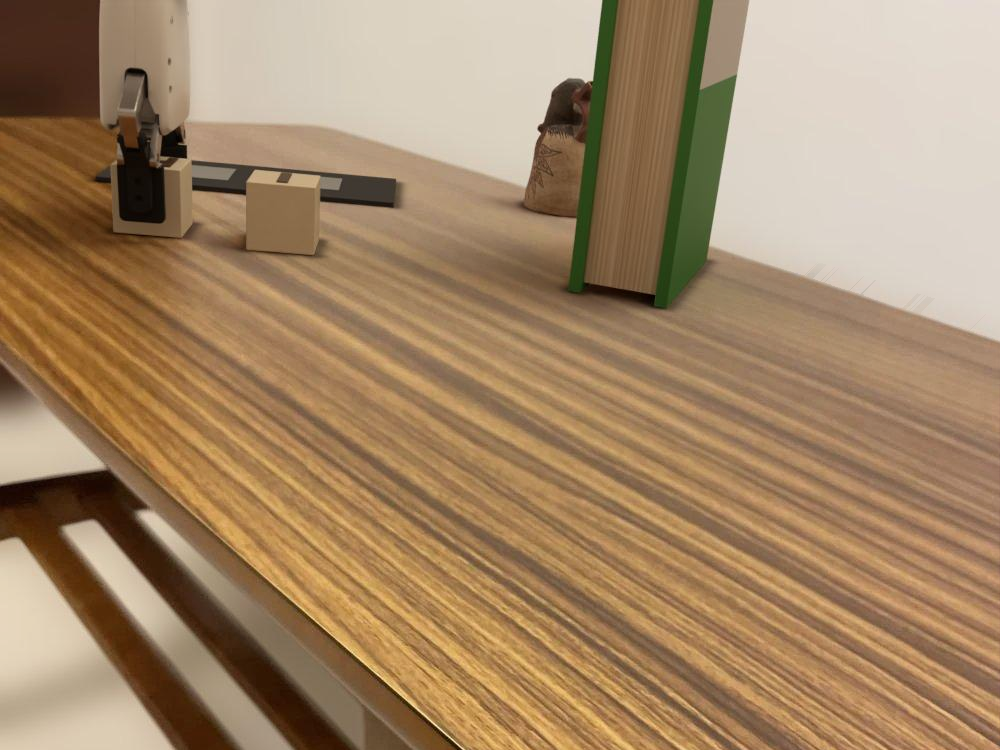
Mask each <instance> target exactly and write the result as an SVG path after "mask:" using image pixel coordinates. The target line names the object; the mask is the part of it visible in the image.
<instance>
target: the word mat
mask: <svg viewBox="0 0 1000 750" xmlns="http://www.w3.org/2000/svg"><path fill="white" fill-rule="evenodd" d="M191 160H192V190H196V191H206V192H219V193H229V194H239V195H240V194H242V195H246V182H247V180H248V179H249V177H250V176H251V174H252V173H253V172H254V170H263V171H274V172H285V173H296V174H307V175H318V176H321V181H320V202H329V203H341V204H342V203H343V204H355V205H364V206H377V207H386V208H387V207H390V208H394V205H395V197H396V188H397V178H393V177H381V176H371V175H370V176H368V175H360V174H359V175H358V174H350V173H349V174H348V173H336V172H327V171H316V170H304V169H292V168H282V167H272V166H260V165H248V164H237V163H236V164H235V163H228V162H227V163H225V162H217V161H215V162H214V161H205V160H204V161H203V160H195V159H191ZM95 181H96V182H103V183H111V166H110V165H109V166H108V167H106V168H105V169H104V170H102V171H101V172H100V173H98V174H97V175H96V176H95Z"/></svg>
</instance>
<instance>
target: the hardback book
mask: <svg viewBox="0 0 1000 750" xmlns="http://www.w3.org/2000/svg"><path fill="white" fill-rule="evenodd" d="M749 4H750V0H601V8H600V15H599V17H600V18H599V25H598V33H597V34H598V35H597V41H596V42H597V43H596V51H595V60H594V68H593V76H592V81H593V84H592V92H591V101H590V110H589V118H588V127H587V135H586V144H585V152H584V161H583V169H582V178H581V187H580V195H579V204H578V212H577V217H576V221H575V229H574V239H573V247H572V255H571V264H570V272H569V282H568V288H567V290H568V291H569V292H572V293H573V292H574V293H578V294H580V293H582V292H583V291H584V290H586V289H587V288H588V287H589V286H590V285H596V286H597V285H598V286H603V287H608V288H609V287H610V288H615V289H619V290H626V291H631V292H637V293H643V294H648V295H654V301H653V306H654V307H657V308H664V309H667V308H668V307H669V306H670V305H671V304H672V302H673V301H674V300H675V299H676V297H677V296H678V295H679V294H680V293H681V292H682V291H683V289H684V288H685V287H686V286H687V285H688V284H689V282H691V280H692V279H693V278H694V277H695V275H696V274H697V273H698V272H699V270H700V269H701V268H702V267H703V266H704V265H705V264H706V262H707V261H708V253H709V248H710V247H709V246H710V241H711V235H712V230H713V224H714V217H715V212H716V206H717V199H718V194H719V187H720V183H721V175H722V171H723V163H724V158H725V157H724V156H725V152H726V151H725V150H726V145H727V139H728V133H729V126H730V120H731V115H732V114H731V113H732V108H733V102H734V95H735V91H736V90H735V88H736V84H737V80H738V79H737V78H738V71H739V66H740V60H741V54H742V48H743V42H744V36H745V31H746V29H745V28H746V23H747V19H748V18H747V17H748V12H749V11H748V10H749Z"/></svg>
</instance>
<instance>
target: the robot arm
mask: <svg viewBox="0 0 1000 750" xmlns="http://www.w3.org/2000/svg"><path fill="white" fill-rule="evenodd" d="M188 7H189V6H188V0H99V23H98V57H99V58H98V60H99V61H98V63H99V66H98V67H99V118H100V119H99V120H100V124H101V125H102V126H103V128H104V129H105V130H107V132H108V131H110V132H113V131H115V130H117V129H118V133H117V134H116V143H117V147H116V148H117V149H116V160H117V163H118V164H117V180H118V200H119V216H120V218H121V219H122V220H123V221H130V222H143V223H155V224H161V223H163V222H164V221H165V219H166V207H165V178H164V167H160V166H159V162H160V156H162V157H173V158H184V159H188V145H187V144H186V139H187V136H186V135H187V133H186V132H187V131H186V127H185V121H186V120H187V119H188V118H189V115H190V108H191V54H190V53H191V52H190V50H191V49H190V29H189V8H188Z"/></svg>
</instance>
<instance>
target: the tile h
mask: <svg viewBox="0 0 1000 750" xmlns="http://www.w3.org/2000/svg"><path fill="white" fill-rule="evenodd" d="M192 160H193V159H191V158H187V159H184V158H173V157H162V156H160V162H159V166H160V167H164V178H165V207H166V219H165V221H164V222H163V223H161V224H155V223H143V222H130V221H123V220H122V219H121V218H120V216H119V200H118V180H117V164H118V163H117V159H116V160H114V161H113V162H112V163H110V165H109V166H111V182H110V184H111V186H110V188H111V207H112V208H111V209H112V228H113V229H112V230H113V231H112V232H113V233H117V234H128V235H139V236H140V235H141V236H152V237H166V238H176V239H182V238H183V237H184V236H185V234H186V233H187V232H188V230H189V229H191V226H193V223H194V222H193V219H194V217H193V215H194V213H193V189H192Z"/></svg>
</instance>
